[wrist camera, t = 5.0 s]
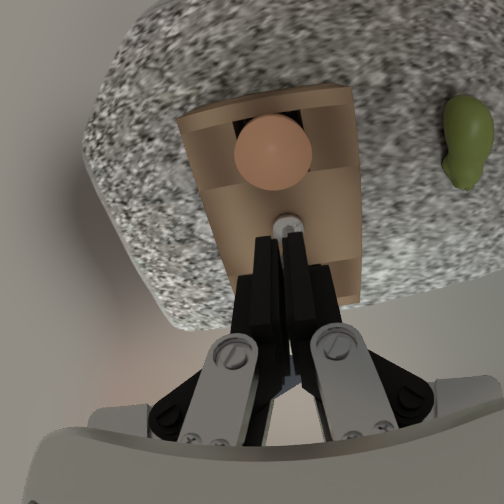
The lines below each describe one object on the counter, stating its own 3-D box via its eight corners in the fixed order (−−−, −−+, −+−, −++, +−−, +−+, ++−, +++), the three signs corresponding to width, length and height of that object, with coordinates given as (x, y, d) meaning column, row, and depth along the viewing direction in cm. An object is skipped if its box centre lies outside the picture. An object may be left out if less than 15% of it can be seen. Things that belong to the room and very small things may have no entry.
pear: (506, 107, 14) (491, 196, 21) (472, 88, 18) (467, 169, 25) (464, 107, 15) (454, 203, 22) (432, 88, 19) (430, 174, 26)
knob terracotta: (294, 100, 21) (305, 112, 15) (303, 152, 24) (316, 184, 18) (237, 110, 22) (225, 126, 16) (250, 161, 25) (243, 196, 19)
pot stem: (301, 210, 21) (308, 245, 18) (304, 236, 23) (311, 273, 19) (269, 215, 22) (270, 250, 18) (275, 240, 23) (276, 278, 19)
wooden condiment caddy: (332, 82, 20) (351, 87, 16) (348, 265, 32) (359, 302, 27) (196, 107, 22) (176, 119, 18) (246, 279, 34) (243, 318, 29)
